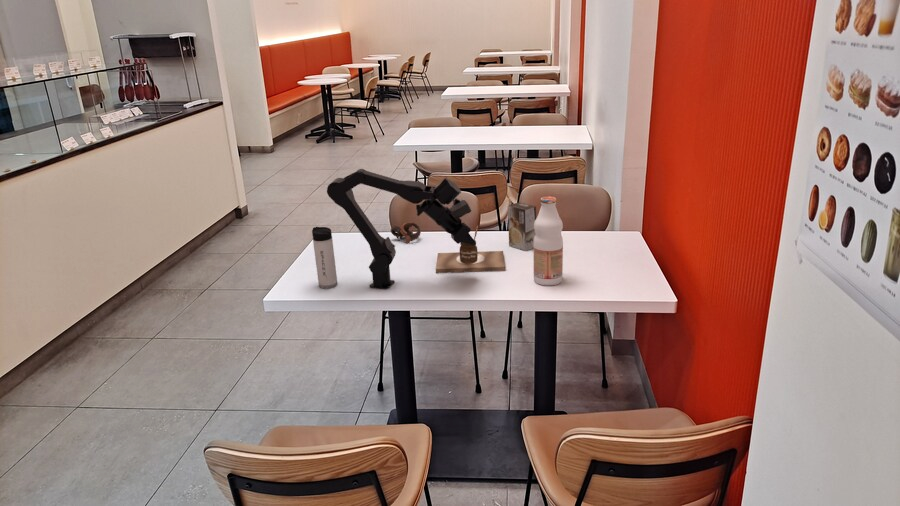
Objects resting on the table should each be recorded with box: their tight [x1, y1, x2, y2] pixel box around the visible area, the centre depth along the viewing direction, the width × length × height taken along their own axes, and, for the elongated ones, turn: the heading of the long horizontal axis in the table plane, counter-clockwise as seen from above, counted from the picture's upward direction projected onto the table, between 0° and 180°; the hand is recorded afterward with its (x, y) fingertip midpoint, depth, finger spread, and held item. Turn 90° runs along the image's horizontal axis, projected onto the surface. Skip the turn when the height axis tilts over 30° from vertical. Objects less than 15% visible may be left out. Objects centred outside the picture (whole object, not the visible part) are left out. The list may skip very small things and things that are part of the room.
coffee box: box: [507, 201, 537, 252], centre depth 238 cm, size 9×6×16 cm
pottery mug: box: [390, 221, 422, 244], centre depth 253 cm, size 12×10×8 cm
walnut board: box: [435, 250, 506, 274], centre depth 226 cm, size 24×16×2 cm, turn 88°
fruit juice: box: [533, 196, 564, 286], centre depth 204 cm, size 9×9×28 cm
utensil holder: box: [459, 225, 479, 264], centre depth 208 cm, size 6×6×12 cm
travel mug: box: [311, 226, 338, 289], centre depth 211 cm, size 6×7×20 cm
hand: (472, 241), depth 208 cm, fingers closed on utensil holder, 5 cm apart
